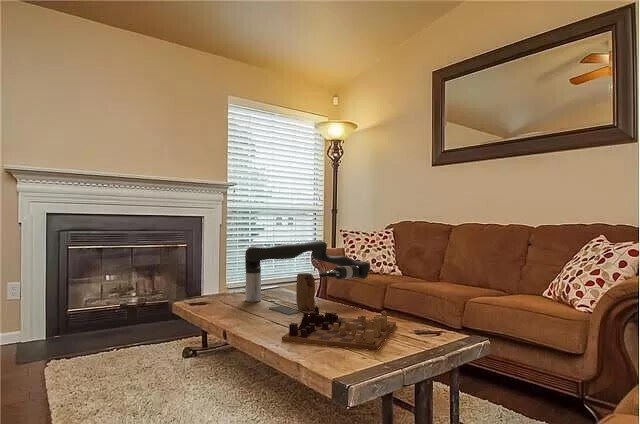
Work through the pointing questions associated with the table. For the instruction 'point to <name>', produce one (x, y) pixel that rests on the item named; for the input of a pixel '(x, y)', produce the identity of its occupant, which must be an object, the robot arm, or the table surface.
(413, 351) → the table surface
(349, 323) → the gameboard
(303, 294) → the block
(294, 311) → the mat
